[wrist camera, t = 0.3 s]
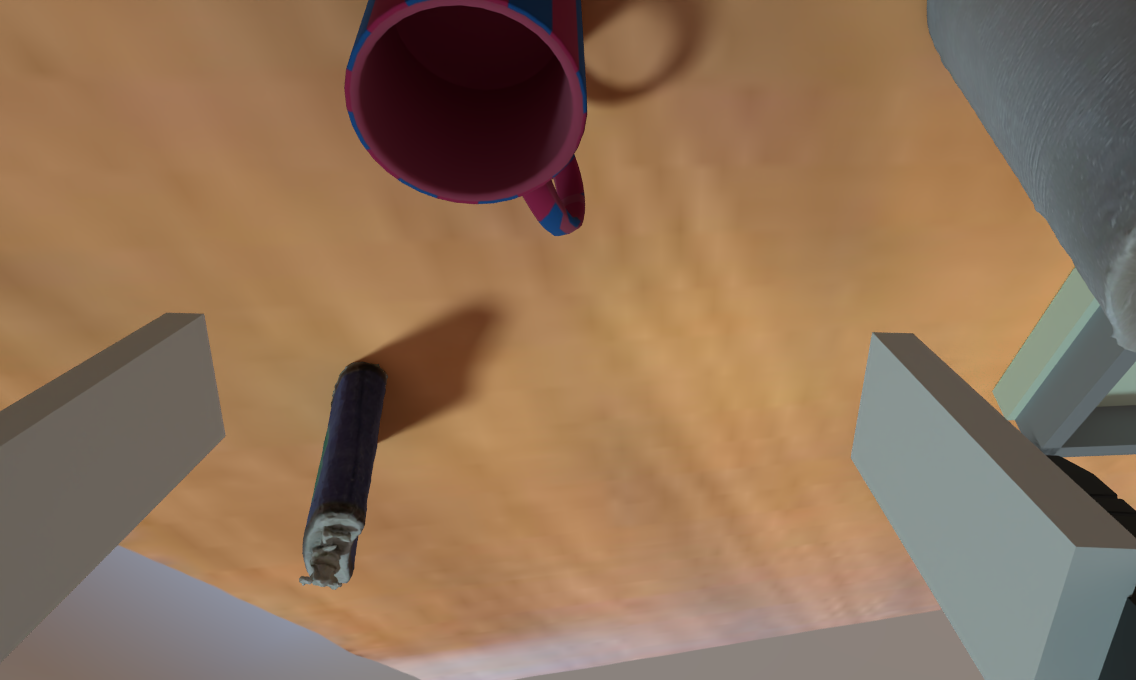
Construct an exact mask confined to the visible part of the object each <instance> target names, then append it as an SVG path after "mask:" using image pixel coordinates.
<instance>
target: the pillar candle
mask: <svg viewBox="0 0 1136 680" xmlns="http://www.w3.org/2000/svg"><path fill="white" fill-rule="evenodd" d="M927 23H928V28H929V33H930V36H931V38H932V40H933V43H934V46H935V48H936V50H937V52H938V53H939V55H940V56H941V61H942V63H943V65H944V66H945V68H946V69H947V70H948V71H949V72H950V74H951V76H952V77H953V79H954V81H955V83H956V84H957V85H958V87H959V88H960V89H961V91H962V92H963V94H964V96H965V97H966V99H967V100H968V102H969V103H970V105H971V107H972V108H973V109H974V110H975V112H976V114H977V116H978V118H979V119H980V121H981V122H982V124H983V125H984V127H985V129H986V130H987V132H988V133H989V135H990V136H991V138H992V139H993V141H994V143H995V145H996V146H997V147H998V149H999V150H1000V152H1001V153H1002V154H1003V156H1004V158H1005V159H1006V161H1007V163H1008V165H1009V166H1010V167H1011V169H1012V171H1013V172H1014V174H1015V175H1016V176H1017V177H1018V179H1019V181H1020V183H1021V185H1022V186H1023V188H1024V190H1025V191H1026V193H1027V195H1028V196H1029V198H1030V199H1031V201H1032V202H1033V204H1034V207H1035V210H1036V211H1037V212H1039V213H1040V214H1041V215H1042V216H1043V217H1044V218H1045V219H1046V220H1047V221H1048V223H1049V225H1050V227H1051V228H1052V230H1053V232H1054V233H1055V235H1056V237H1057V239H1058V241H1059V242H1060V244H1061V246H1062V247H1063V248H1064V249H1065V251H1066V252H1067V253H1068V255H1069V256H1070V257H1071V259H1072V261H1073V263H1074V265H1075V267H1076V269H1077V271H1078V273H1079V274H1080V275H1081V277H1082V279H1083V280H1084V281H1085V283H1086V285H1087V286H1088V289H1089V290H1090V291H1091V293H1092V294H1093V296H1094V297H1095V298H1096V300H1097V301H1098V303H1099V304H1100V306H1101V308H1102V310H1103V311H1104V313H1105V315H1106V316H1107V318H1108V319H1109V321H1110V323H1111V324H1112V327H1113V334H1112V335H1111V337H1113V338H1116V340H1117V344H1118V345H1119V346H1121V347H1123V348H1124V349H1126V350H1130V351H1133V352H1136V0H927Z"/></svg>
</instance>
